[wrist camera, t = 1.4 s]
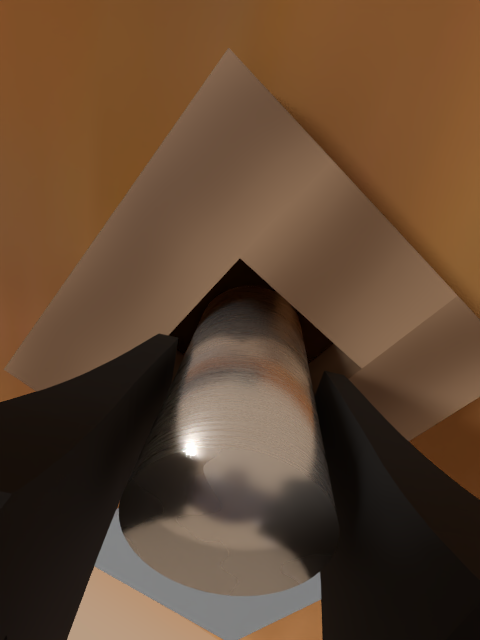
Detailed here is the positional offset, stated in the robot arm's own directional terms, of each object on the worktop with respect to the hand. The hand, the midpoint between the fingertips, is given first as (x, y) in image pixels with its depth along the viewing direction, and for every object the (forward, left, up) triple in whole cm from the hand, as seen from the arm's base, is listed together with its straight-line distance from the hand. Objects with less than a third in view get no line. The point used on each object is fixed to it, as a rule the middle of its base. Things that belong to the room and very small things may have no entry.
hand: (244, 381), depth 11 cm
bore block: (0, 0, -3) cm, 3 cm away
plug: (0, 0, -3) cm, 3 cm away
